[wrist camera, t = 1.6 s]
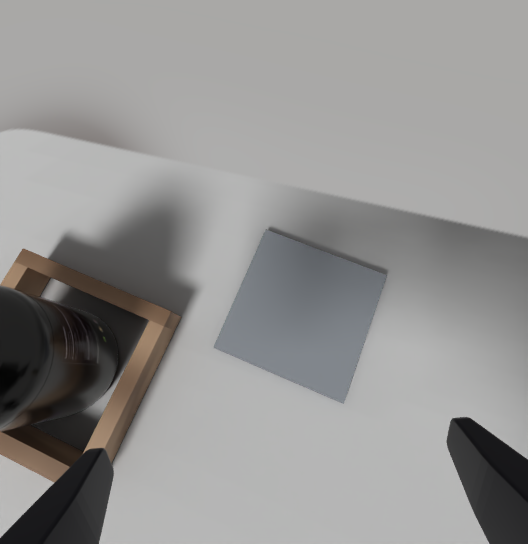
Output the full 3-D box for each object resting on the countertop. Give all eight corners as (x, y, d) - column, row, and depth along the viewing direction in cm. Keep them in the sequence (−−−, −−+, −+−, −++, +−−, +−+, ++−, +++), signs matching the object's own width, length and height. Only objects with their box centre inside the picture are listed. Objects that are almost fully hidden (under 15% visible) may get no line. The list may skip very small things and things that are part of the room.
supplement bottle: (48, 438, 22) (-192, 512, 11) (5, 349, 24) (-244, 330, 12) (141, 374, 23) (12, 379, 12) (94, 292, 25) (-62, 225, 13)
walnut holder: (102, 482, 22) (81, 496, 19) (-43, 408, 23) (-80, 412, 21) (181, 317, 24) (171, 311, 22) (46, 259, 26) (23, 248, 23)
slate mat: (342, 403, 22) (343, 403, 22) (214, 347, 24) (213, 347, 23) (384, 277, 25) (387, 275, 24) (266, 231, 26) (265, 229, 25)
